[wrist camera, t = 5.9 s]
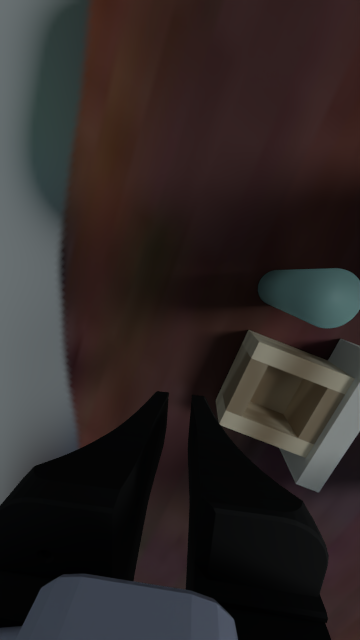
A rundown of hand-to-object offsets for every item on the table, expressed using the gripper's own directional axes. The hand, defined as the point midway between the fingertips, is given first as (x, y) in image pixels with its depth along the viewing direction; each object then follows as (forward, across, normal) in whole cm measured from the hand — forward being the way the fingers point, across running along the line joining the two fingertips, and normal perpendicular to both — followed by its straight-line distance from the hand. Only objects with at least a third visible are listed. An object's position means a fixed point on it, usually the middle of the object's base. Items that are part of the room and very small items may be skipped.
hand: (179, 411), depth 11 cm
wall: (+9, -12, +4) cm, 16 cm away
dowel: (+9, -7, -6) cm, 13 cm away
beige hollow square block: (+9, -8, +2) cm, 12 cm away
